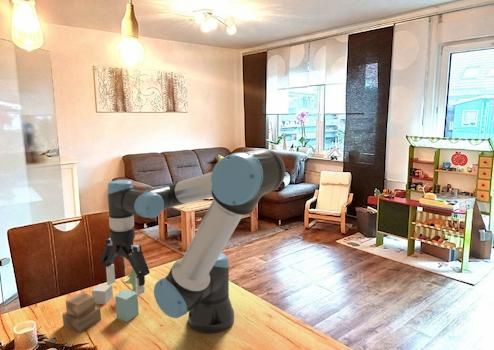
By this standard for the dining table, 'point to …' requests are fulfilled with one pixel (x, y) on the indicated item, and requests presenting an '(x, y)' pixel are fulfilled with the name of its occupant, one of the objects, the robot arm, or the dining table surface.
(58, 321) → the dining table surface
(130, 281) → the toy
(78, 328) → the base block
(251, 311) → the dining table surface
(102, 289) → the block
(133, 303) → the teal block
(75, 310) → the top block
